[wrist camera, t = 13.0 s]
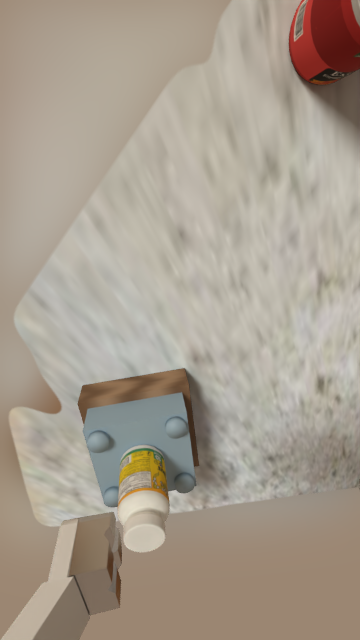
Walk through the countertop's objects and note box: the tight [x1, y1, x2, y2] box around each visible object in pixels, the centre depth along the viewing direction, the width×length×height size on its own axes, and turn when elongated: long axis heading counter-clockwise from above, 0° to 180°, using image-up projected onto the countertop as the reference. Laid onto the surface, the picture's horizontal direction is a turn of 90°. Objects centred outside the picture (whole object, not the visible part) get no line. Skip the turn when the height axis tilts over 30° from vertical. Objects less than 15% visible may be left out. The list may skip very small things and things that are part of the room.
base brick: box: [78, 368, 199, 467], centre depth 45 cm, size 14×14×4 cm
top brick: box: [83, 392, 196, 507], centre depth 41 cm, size 12×12×5 cm
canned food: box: [289, 0, 360, 85], centre depth 27 cm, size 8×8×11 cm
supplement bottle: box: [118, 445, 170, 552], centre depth 35 cm, size 5×5×10 cm
